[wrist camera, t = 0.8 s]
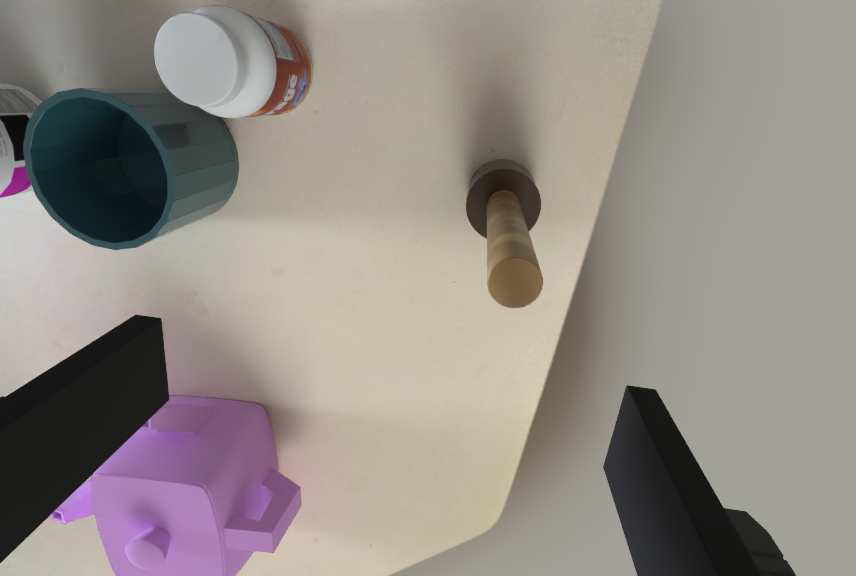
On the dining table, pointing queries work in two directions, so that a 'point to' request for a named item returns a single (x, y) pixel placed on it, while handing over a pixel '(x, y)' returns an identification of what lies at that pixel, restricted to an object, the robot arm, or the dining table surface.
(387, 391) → the dining table surface
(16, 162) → the supplement can
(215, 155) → the jar
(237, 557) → the teakettle
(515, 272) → the brush
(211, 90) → the pill bottle
